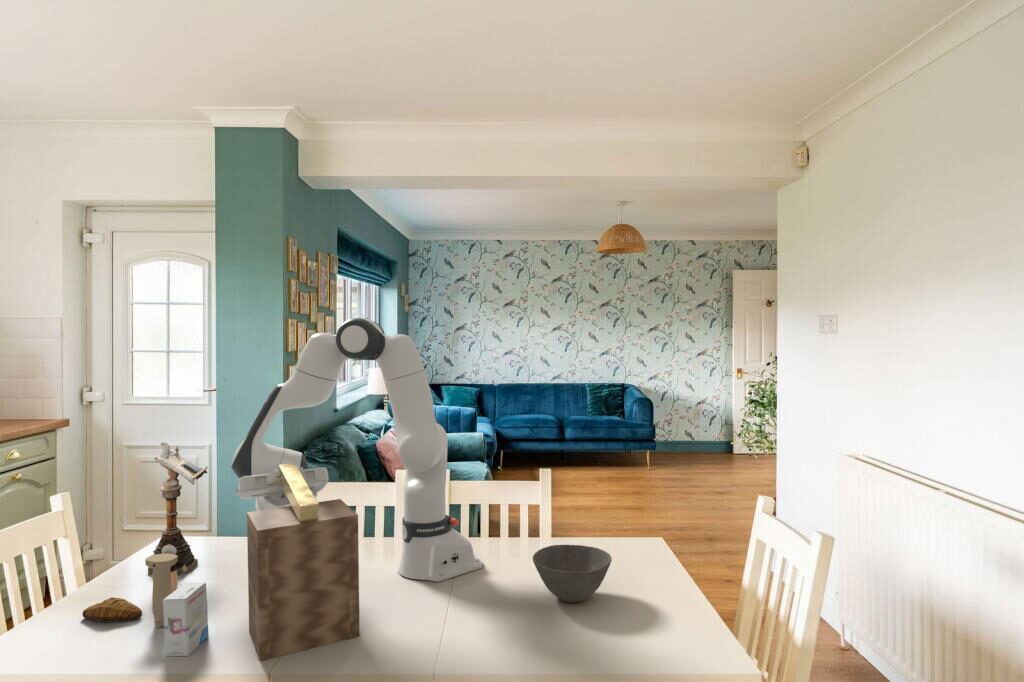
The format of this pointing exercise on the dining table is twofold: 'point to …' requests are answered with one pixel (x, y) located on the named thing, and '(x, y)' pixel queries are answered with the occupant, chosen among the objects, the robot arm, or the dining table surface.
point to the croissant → (113, 611)
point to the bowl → (572, 570)
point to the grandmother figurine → (172, 550)
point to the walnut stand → (302, 578)
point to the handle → (160, 582)
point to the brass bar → (298, 493)
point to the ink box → (185, 619)
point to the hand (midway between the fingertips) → (288, 472)
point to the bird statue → (170, 493)
